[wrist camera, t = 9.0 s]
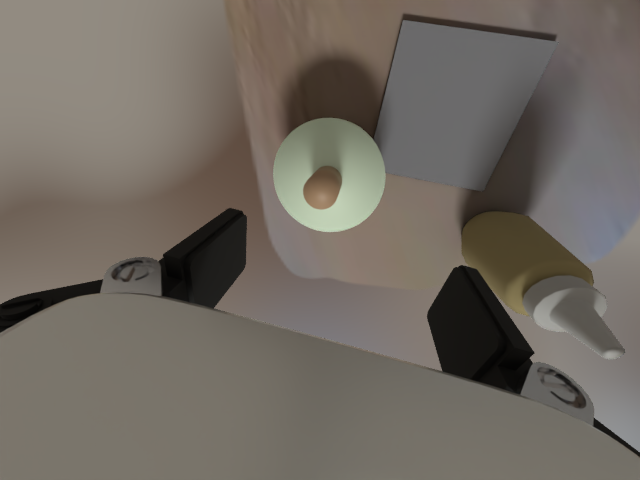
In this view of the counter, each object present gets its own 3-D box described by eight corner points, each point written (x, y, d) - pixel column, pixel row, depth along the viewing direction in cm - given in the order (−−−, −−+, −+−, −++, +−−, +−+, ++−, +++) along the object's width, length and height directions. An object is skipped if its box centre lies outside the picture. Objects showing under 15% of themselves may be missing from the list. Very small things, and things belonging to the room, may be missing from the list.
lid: (279, 108, 23) (258, 106, 19) (399, 128, 22) (408, 132, 18) (273, 217, 29) (256, 236, 25) (369, 237, 28) (369, 261, 24)
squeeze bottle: (462, 199, 29) (574, 295, 14) (534, 204, 28) (748, 315, 12) (444, 254, 33) (516, 379, 17) (507, 261, 32) (645, 401, 16)
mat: (402, 22, 23) (403, 19, 22) (554, 43, 22) (558, 41, 21) (366, 168, 29) (366, 169, 29) (480, 190, 28) (483, 191, 28)
